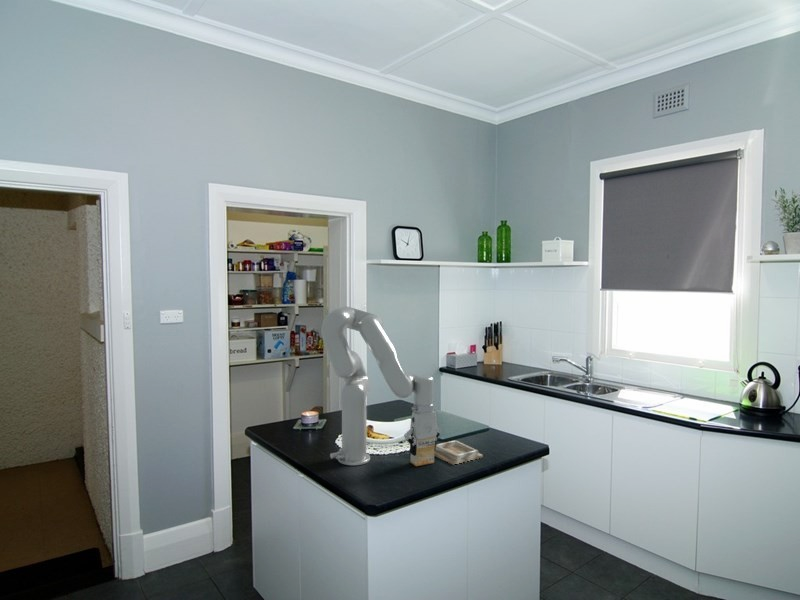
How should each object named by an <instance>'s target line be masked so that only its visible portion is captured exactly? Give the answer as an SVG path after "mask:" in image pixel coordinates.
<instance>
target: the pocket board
mask: <svg viewBox="0 0 800 600" xmlns="http://www.w3.org/2000/svg"><path fill="white" fill-rule="evenodd" d="M434 457H436V458H437V459H440V460H442V461H444V462H445V461H446V462H445V463H447V462H448V464H449V463H450V464H449V465H451V464H453V465H454V464H458V465H460V464H459V463H462V464H464V463H463V462H465V463H468V462H467V461H469V462H471V461H470V460H473V461H476V460H475V459H477V460H480V459H483V458H484V455H483V454H482V453H480V452H479V450H478V449H475V448H474V447H471V446H470V445H467V444H465V443H463V442H460V441H459V440H451V441H450V440H449V441H447V442H442V443H438V444H437V443H436V451H434ZM482 457H483V458H482ZM479 458H480V459H479ZM453 465H452V466H453ZM454 466H455V465H454Z"/></svg>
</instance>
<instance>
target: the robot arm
mask: <svg viewBox="0 0 800 600" xmlns="http://www.w3.org/2000/svg"><path fill="white" fill-rule="evenodd" d="M383 323H384V322H383V320H382V319H381V317H380V316H378V315H377V314H374V313H371V312H369V311H368V312H367V311H364V310H360V309H356V308H354V307H351V306H340V307H337V308H335V309H333V310H332V311H330V312H329V313H328V314H327V315H326V316H325V317H324V319H323V322H322V324H321V327H320V328H321V329H320V333H321V338H322V341H323V343H324V346H325V349H326V352H327V356H328V358H329V361H330V363H331V365H332V370H333V372H334V374H335V375H336V376H337V377H338V378H340V379H343V380H344V382H345V383H344V385H343V386H342V388H341V391H340V403H341V405H340V406H341V447H340V448H339V450H337V452H331V453H330V454H329V457H330V459H336V460H338V462H339V463H340V464H342V465H346V466H360V465H361V466H362V465H365V464H367V463H369V462H370V460H371V455H370V454H369V453H368V452H367V401H366V400H367V396H368V394H369V393H370V391H371V383H370V380H369V377H368V373H367V371H366V369H365V366H364V363H363V361H362V358H361V357H360V356H359V354H358V353H357V352H356V351H354V350H351V349H350V346H349V342H348V341H347V339H346V337H345V334H344V330H346V329H350V330H353V331H357V332H359V334H360V337H362V339H363V340H364V343H366V345H367V347H368V349H369V350H370V352H371V353H372V355H373V357H374V359H375V361H376V363H377V365H378V368H379V370H380V372H381V374H382V376H383V379H384V380H385V382H386V383H387V385H388V387H389V388H390V390H391V392H392V393H393V394H394V395H395V396H396V397H397V398H400V399H406V398H408V397H409V396H411V395H412V393H414V395H413V406H412V407H411V410H412V414H411V419H410V429H409V430H408V431H406V432H405V433H404V438H405V440H406V441H407V442H408V444H409V453H410V455H411V454H412V455H414V456H416V448H417V446H416V445H415V444H416V442H417V440H422V439H427V438H431V437H435V448H434V451H436V445H437V441H438V438H439V437H440V436H441V435H440V434H441V432H442V429H443V428H442V427H440V426H439V425H438V419H437V414H436V413H437V412H436V410H434V405H435V403H434V402H435V401H434V396H435V394H434V393H435V380H434V377H433V376H431V375H427V374H421V375H418V374H417V375H416V374H411V373H406V372H404V371H403V368H402V367H401V364H400V362H399V360H398V357H397V355H398V354H397V350H396V348H395V346H394V344H393V342H392V340H391V339H390V337H389V336H388V334H387V333H386V331H385V330H384V328H383V327H384V326H383V325H384V324H383ZM413 432H414V436H413V435H412V433H413ZM414 438H415V439H414ZM413 439H414V441H413Z"/></svg>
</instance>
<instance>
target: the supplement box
mask: <svg viewBox="0 0 800 600" xmlns="http://www.w3.org/2000/svg"><path fill="white" fill-rule="evenodd" d="M412 435H413V436H414V432H413V433H412ZM414 439H415V438H414ZM414 439H413V441H414ZM415 445H416V446H417V448H416V456H414V455H412V454H411V453H410V464H412V465H414V466H415V467H419V466H425V465H430V464H434V463H435V456H434V448H435V437H431V438H427V439H422V440H417V442H416V444H415Z"/></svg>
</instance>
